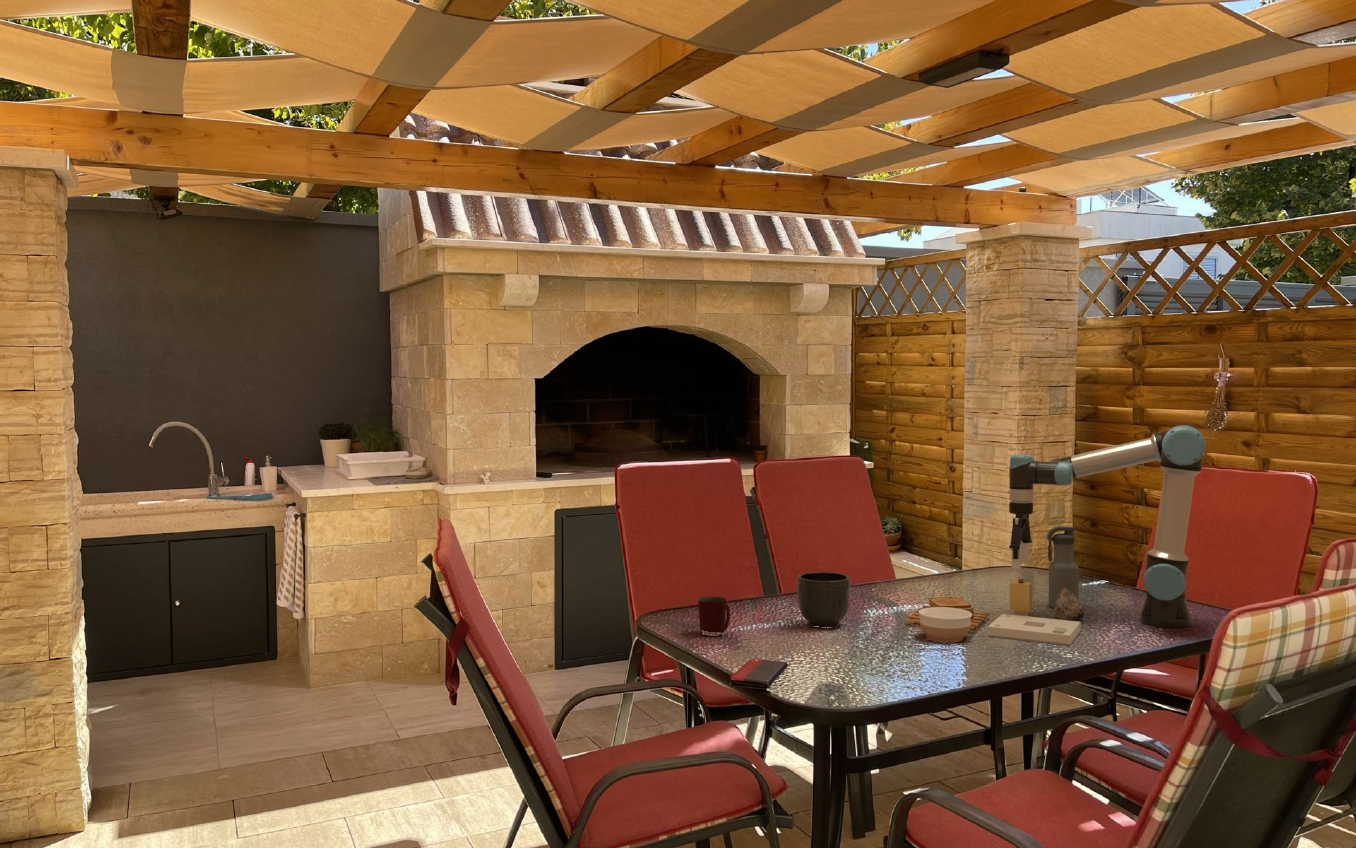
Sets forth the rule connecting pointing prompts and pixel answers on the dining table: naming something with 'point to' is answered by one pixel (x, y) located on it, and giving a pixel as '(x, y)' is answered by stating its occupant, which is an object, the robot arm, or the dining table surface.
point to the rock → (1068, 606)
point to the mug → (713, 614)
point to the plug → (1021, 597)
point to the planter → (823, 597)
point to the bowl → (945, 623)
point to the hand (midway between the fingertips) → (1020, 565)
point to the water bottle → (1062, 563)
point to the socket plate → (1035, 629)
